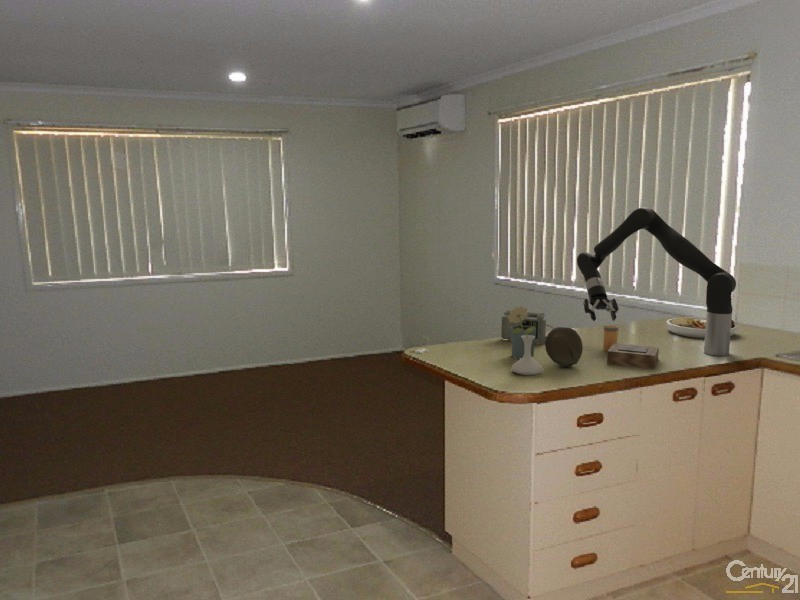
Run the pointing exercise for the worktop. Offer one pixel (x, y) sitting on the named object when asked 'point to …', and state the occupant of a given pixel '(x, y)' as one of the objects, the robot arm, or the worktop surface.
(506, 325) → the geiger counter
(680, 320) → the bowl
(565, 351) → the coconut
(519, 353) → the drinking glass
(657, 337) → the worktop surface
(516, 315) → the flower in vase
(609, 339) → the amber jar
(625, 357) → the stand
